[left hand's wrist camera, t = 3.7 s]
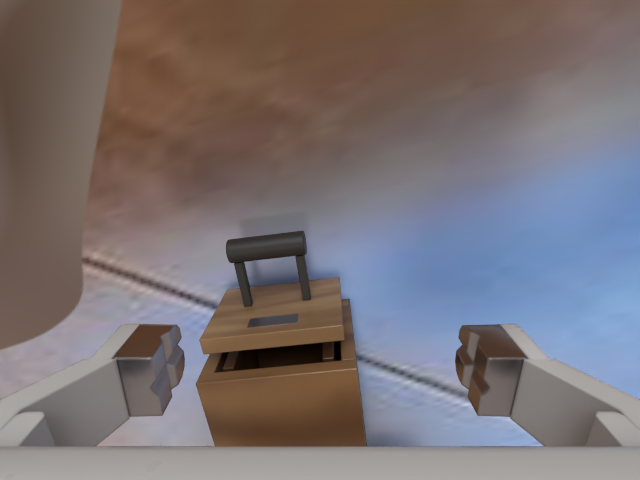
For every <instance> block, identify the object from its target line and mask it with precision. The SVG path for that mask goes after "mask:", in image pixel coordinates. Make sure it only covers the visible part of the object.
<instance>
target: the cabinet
mask: <svg viewBox="0 0 640 480" xmlns="http://www.w3.org/2000/svg"><path fill="white" fill-rule="evenodd" d="M342 311H343V325H344V338H345V339H344V340H342V341H337V345H338V352H339V359H340V361H332V362H321V363H311V364H301V365H290V366H280V367H270V368H259V369H249V370H239V371H228V372H224V371H223V367H224V365H225V362H226V360H227V357H228V355H229V352H223V353H213V354H210V355H209V357H208V359H207V361H206V363H205V366H204V368H203V370H202V372H201V375H200V376H199V378H198V380H197V383H196V386H197V389H198V393H199V396H200V399H201V402H202V406H203V409H204V412H205V415H206V418H207V422H208V425H209V428H210V431H211V435H212V438H213V441H214V444H215V446H367V443H366V435H365V427H364V418H363V410H362V401H361V393H360V384H359V376H358V368H357V359H356V351H355V342H354V334H353V326H352V317H351V309H350V300H349V299H346V300H342Z"/></svg>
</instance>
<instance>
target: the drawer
mask: <svg viewBox="0 0 640 480" xmlns="http://www.w3.org/2000/svg"><path fill="white" fill-rule="evenodd" d="M306 253H307V247H306V238H305V233H304V231H297V232H289V233H280V234H272V235H264V236H255V237H247V238H239V239H230V240H228V241H227V243H226V254H227V258H228V260H229V262H230V263H234V265H235V269H236V274H237V278H238V282H239V287H240V288H239V289H230V290H227V291H226V293H225V295H224V296H223V298H222V300H221V302H220V304H219V305H218V307H217V309H216V311H215V313H214V315H213V316H212V318H211V320H210V322H209V324H208V325H207V327H206V329H205V331H204V333H203V335H202V336H201V338H200V343H201V347H202V350H203V354H213V353H223V352H229V355H228V357H227V360H226V362H225V365H224V367H223V371H224V372H228V371H239V370H249V369H259V368H270V367H280V366H290V365H301V364H311V363H321V362H332V361H340V359H339V352H338V345H337V341H342V340H344V339H345V338H344V325H343V311H342V298H341V287H340V279H339V277H338V278H329V279H320V280H311V281H309V280H308V274H307V267H306V261H305V254H306ZM288 256H296V262H297V268H298V274H299V280H300V282H293V283H284V284H275V285H266V286H257V287H250V286H249V282H248V277H247V273H246V268H245V264H244V262H245V261H254V260H262V259H271V258H280V257H288Z"/></svg>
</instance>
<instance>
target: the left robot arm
mask: <svg viewBox="0 0 640 480" xmlns="http://www.w3.org/2000/svg"><path fill="white" fill-rule="evenodd" d="M180 339H181V333H180V328H179V327H178V326H177V325H162V324H124V325H121V326H120V327H119V328H118V329H117V330H116V332H115V333H114V334H113V335H112V336H111V337H110V338H109V339H108V340H107V341H106V342H105V343H104V345H103V346H102V347H101V348H100V349H99V350H98V351H97V352H96V353H95V354H94V355H93V356H92V358H91V359H83V360H81V361H79V362H77V363H75V364H73V365H71V366H69V367H67V368H65V369H63V370H61V371H58V372H56V373H54V374H52V375H50V376H48V377H46V378H44V379H42V380H40V381H38V382H36V383H34V384H31V385H29V386H27V387H25V388H23V389H21V390H19V391H17V392H15V393H13V394H11V395H9V396H6V397H4V398H2V399H0V480H640V399H637V398H635V397H633V396H631V395H629V394H627V393H625V392H623V391H621V390H619V389H617V388H615V387H613V386H610V385H608V384H606V383H604V382H602V381H600V380H598V379H596V378H594V377H592V376H590V375H588V374H586V373H583V372H581V371H579V370H577V369H575V368H573V367H571V366H569V365H567V364H565V363H563V362H561V361H559V360H557V359H549V358H548V356H547V355H546V354H545V353H544V352H543V351H542V350H541V349H540V348H539V347H538V346H537V345H536V343H535V342H534V341H533V340H532V339H531V338H530V337H529V336H528V335H527V334H526V333H525V331H524V330H523V329H522V328H521V327H520V326H519V325H516V324H497V325H462V327H461V329H460V332H459V339H460V341H461V343H462V344H463V345H462V346H461V347H460V348H459V349H458V350H457V351H456V359H455V363H456V371H457V375H458V378H459V380H460V382H461V384H462V385H463V386H465V387H466V388H467V389H469V392H468V398H469V400H470V402H471V404H472V406H473V407H474V409H475V411H476V413H477V415H478V416H505V417H510V418H511V419H512V420H513V421H514V422H516V423H517V424H518V425H519V426H520V427H522V428H523V429H524V430H525V431H527V432H528V433H529V434H530V435H531V436H533V437H534V438H535V439H536V440H537V441H539V442H540V443H541V444H542V445H544V446H97V445H98V444H99V443H100V442H101V441H103V440H104V439H105V438H106V437H108V436H109V435H110V434H111V433H112V432H114V431H115V430H116V429H117V428H119V427H120V426H121V425H122V424H123V423H125V422H126V421H127V420H128V419H129V418H130V417H135V416H162V415H163V413H164V411H165V409H166V408H167V406H168V404H169V402H170V400H171V398H172V393H171V389H173V388H174V387H175V386H177V385H178V384H179V382H180V380H181V378H182V375H183V370H184V360H185V358H184V351H183V350H182V349H181V348H180V347H179V346H178V345H177V344H178V343H179V341H180Z"/></svg>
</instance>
